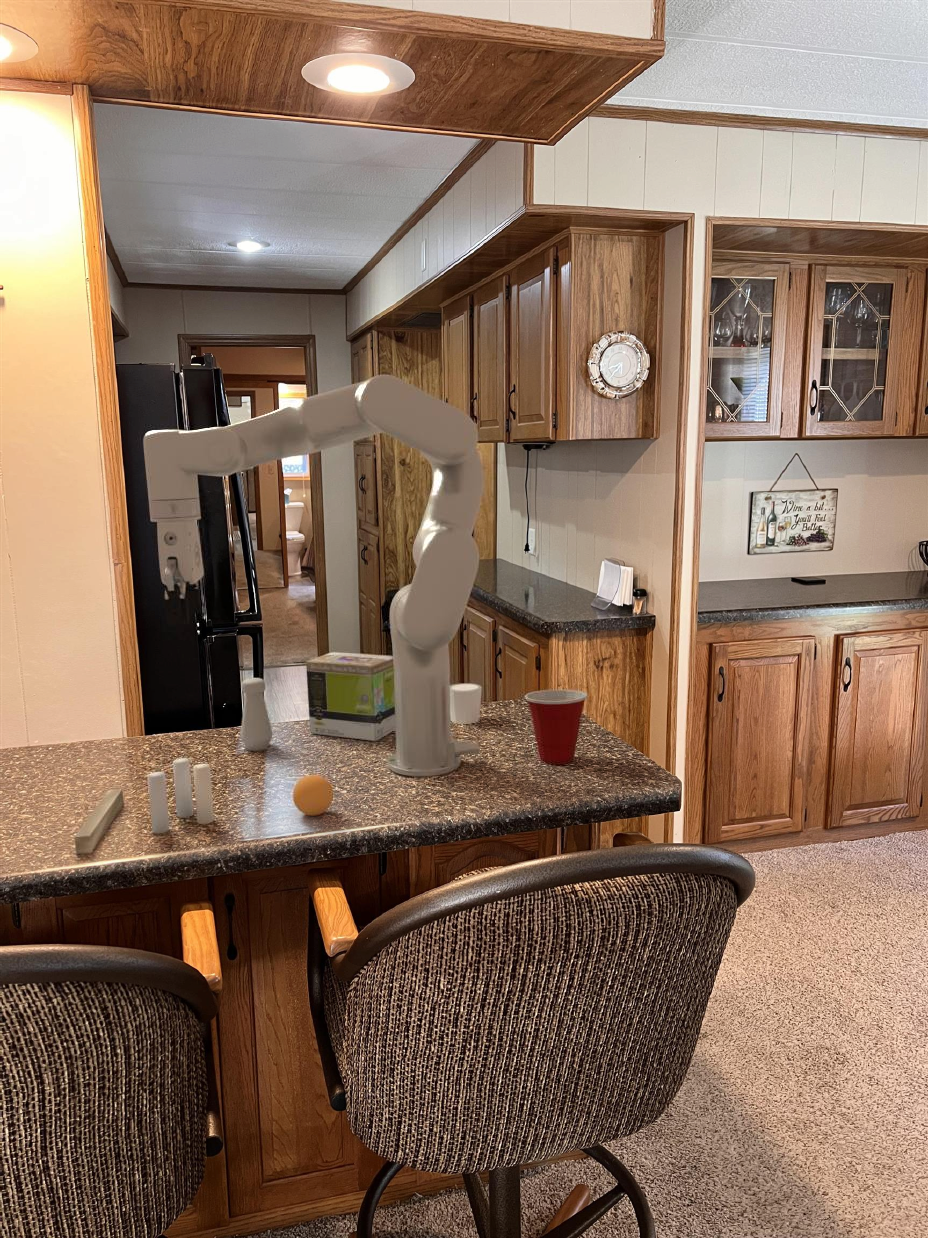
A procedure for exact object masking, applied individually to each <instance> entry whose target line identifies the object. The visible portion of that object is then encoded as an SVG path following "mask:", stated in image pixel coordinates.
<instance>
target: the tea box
mask: <svg viewBox="0 0 928 1238" xmlns="http://www.w3.org/2000/svg"><path fill="white" fill-rule="evenodd" d="M305 665H306V666H305V667H306V669H305V670H306V685H307V701H308V702H307V703H308V716H309V717H308V718H309V732H310V734H313V735H314V734H315V735H323V736H329V737H338V738H347V739H348V738H349V739H355V740H357V739H358V740H365V741H371V742H376V741H379V740H381V739H383V738H384V736H385V737H387V736H388V735H389V734H388V733H390V732H392V731H393V732H395V731H396V730H395V729H396V726H395V699H394V666H393V655H383V654H372V653H371V654H370V653H357V652H356V653H355V652H342V651H341V652H340V651H332V652H329V653H326V654H324V655H320V656H318V657H315V658H312V659H309V660H307V661H305ZM394 730H395V731H394ZM393 732H392V733H393ZM387 734H388V735H387ZM390 734H391V733H390ZM382 737H383V738H382Z"/></svg>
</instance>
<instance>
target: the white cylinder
mask: <svg viewBox="0 0 928 1238" xmlns="http://www.w3.org/2000/svg"><path fill="white" fill-rule="evenodd" d="M482 690H483V689H482V686H481V685H480V684H476V683H471V682H470V683H466V682H465V683H462V682H461V683H455V684H450V715H451V721H452V722H454V723H453V724H455V723H458V724H457V725H459V724H469V725H472V724H471V723H475V724H477V723H479V722H480V714H481V713H480V712H481V702H482V701H481V700H482V699H481V698H482ZM478 721H479V722H478ZM476 722H477V723H476Z"/></svg>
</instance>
